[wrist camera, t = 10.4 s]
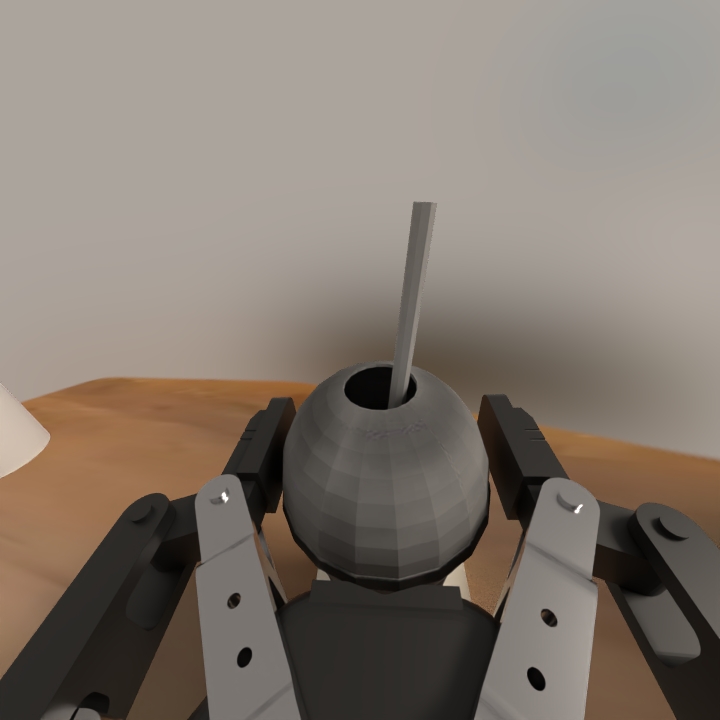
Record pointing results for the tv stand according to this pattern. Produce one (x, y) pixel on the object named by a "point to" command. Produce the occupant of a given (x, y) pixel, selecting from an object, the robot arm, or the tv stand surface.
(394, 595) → the robot arm
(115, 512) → the tv stand surface
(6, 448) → the cylindrical container
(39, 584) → the tv stand surface
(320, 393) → the beverage cup
